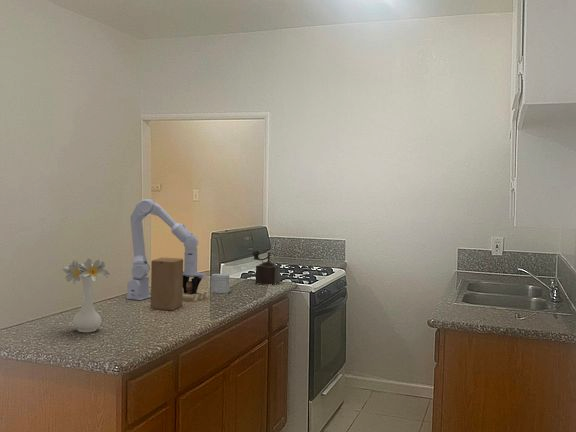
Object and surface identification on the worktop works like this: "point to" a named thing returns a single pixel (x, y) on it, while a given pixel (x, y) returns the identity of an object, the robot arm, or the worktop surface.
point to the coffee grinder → (266, 270)
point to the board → (195, 296)
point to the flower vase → (86, 292)
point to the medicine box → (220, 283)
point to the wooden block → (166, 283)
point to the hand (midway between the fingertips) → (190, 293)
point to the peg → (189, 287)
